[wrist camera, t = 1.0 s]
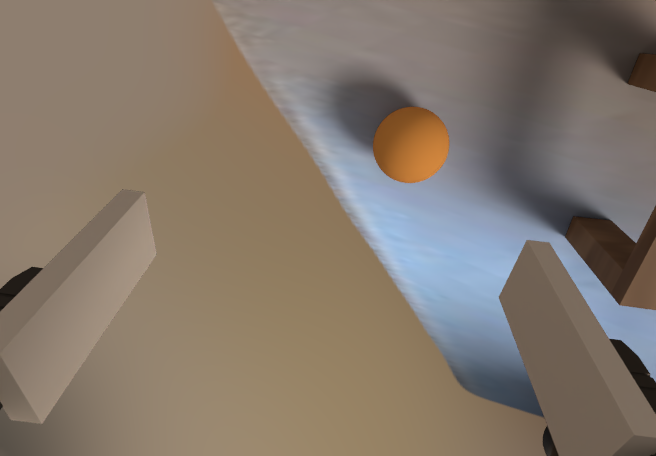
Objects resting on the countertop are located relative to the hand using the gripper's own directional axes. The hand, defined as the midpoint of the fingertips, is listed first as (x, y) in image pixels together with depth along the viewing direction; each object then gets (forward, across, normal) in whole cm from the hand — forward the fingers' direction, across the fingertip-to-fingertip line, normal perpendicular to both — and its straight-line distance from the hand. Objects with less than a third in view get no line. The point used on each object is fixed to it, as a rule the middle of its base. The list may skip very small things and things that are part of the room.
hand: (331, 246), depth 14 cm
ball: (+17, -5, +3) cm, 18 cm away
